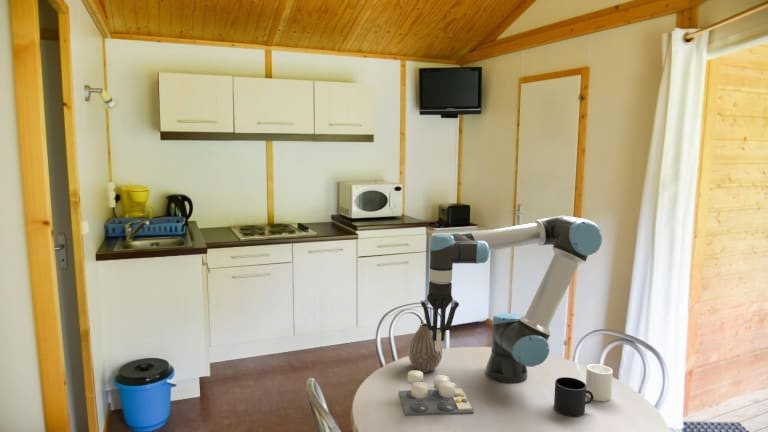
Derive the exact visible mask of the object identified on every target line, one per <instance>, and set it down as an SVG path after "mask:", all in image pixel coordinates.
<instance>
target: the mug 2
mask: <svg viewBox="0 0 768 432" xmlns="http://www.w3.org/2000/svg"><path fill="white" fill-rule="evenodd" d="M613 373H614V370H613V369H612V368H611V367H609V366H607V365H604V364H601V363H600V364H598V363H592V364H591V363H588V364H587V365H586V375H585V376H586V378H585V384H586V390H588V391H590V392H592V394H593V400H594V401H596V402H609V401H610V400H611V399H612V389H613V375H614V374H613ZM586 397H587V398H589V399H590V398H591V396H590V394H588V393H586Z"/></svg>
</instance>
